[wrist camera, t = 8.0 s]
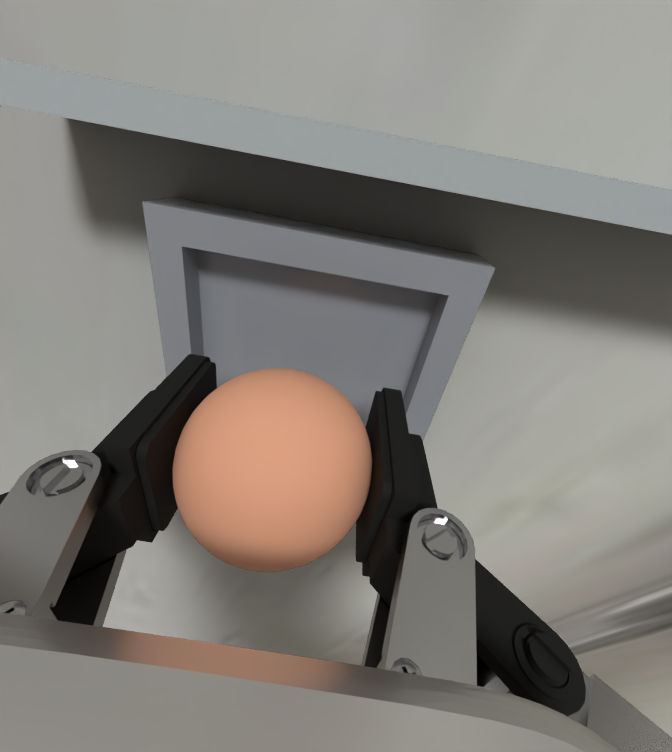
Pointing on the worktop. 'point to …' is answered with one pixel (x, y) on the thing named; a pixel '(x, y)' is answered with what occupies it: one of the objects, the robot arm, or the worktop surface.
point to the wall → (332, 146)
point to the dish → (312, 302)
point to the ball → (272, 469)
